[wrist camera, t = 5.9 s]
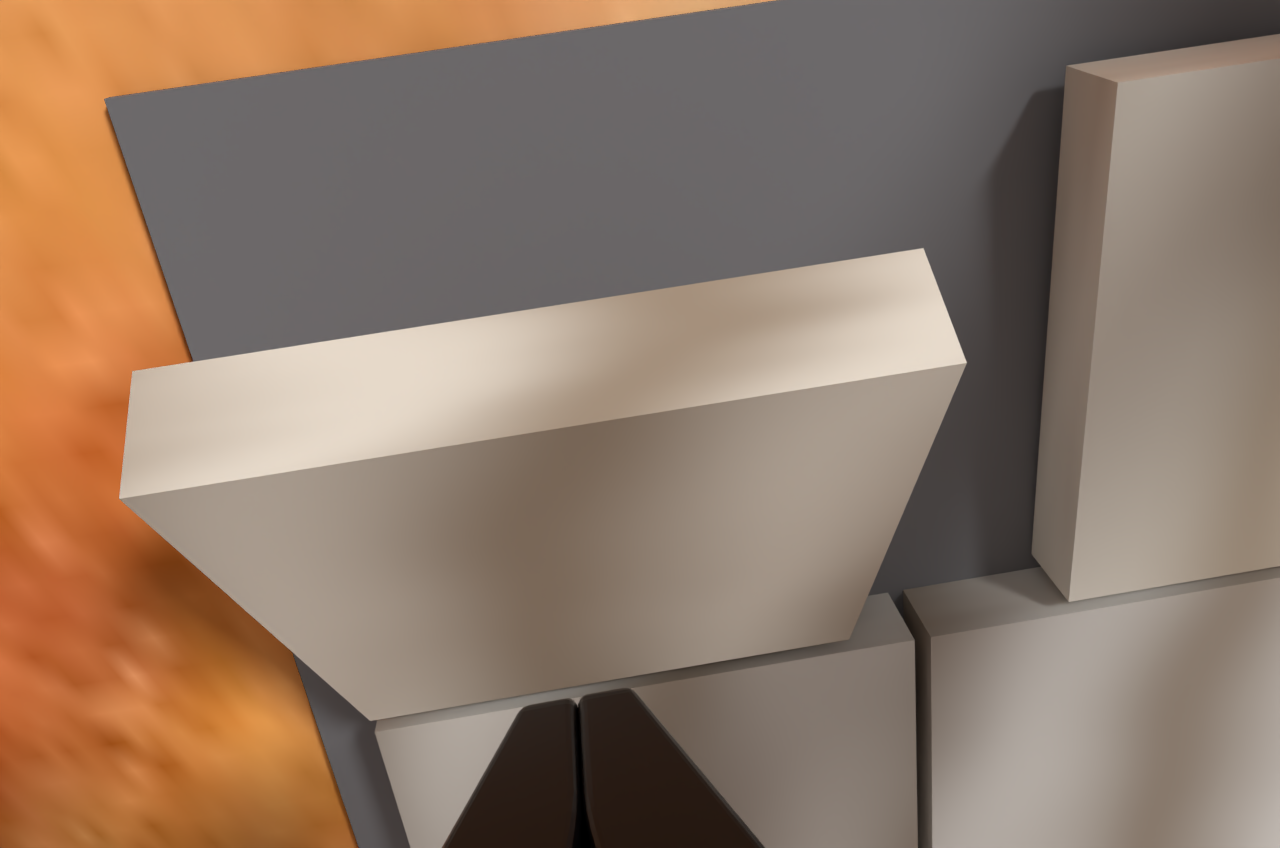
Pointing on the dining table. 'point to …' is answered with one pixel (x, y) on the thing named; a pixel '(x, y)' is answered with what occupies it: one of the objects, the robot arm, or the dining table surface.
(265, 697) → the dining table surface
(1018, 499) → the underlay mat
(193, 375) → the plank
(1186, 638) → the laid row
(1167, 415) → the plank
